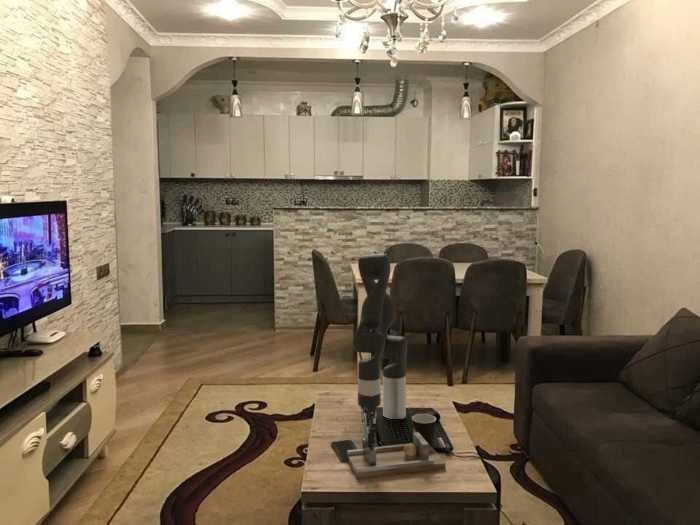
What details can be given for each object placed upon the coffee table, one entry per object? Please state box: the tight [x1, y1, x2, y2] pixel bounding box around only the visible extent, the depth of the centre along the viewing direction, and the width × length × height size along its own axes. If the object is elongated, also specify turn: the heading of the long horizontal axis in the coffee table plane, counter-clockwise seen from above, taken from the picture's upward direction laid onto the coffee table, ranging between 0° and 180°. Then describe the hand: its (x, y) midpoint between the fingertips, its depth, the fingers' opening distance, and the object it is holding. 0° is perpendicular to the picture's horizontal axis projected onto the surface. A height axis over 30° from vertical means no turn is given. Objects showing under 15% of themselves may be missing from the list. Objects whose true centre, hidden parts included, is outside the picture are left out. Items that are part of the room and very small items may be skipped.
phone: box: [330, 439, 358, 463], centre depth 211 cm, size 8×1×15 cm
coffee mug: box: [411, 413, 437, 445], centre depth 217 cm, size 12×9×10 cm
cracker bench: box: [347, 432, 446, 480], centre depth 201 cm, size 15×30×8 cm, turn 103°
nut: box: [404, 442, 417, 459], centre depth 202 cm, size 4×4×4 cm
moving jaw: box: [362, 422, 376, 466], centre depth 198 cm, size 10×3×13 cm, turn 13°
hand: (369, 440), depth 198 cm, fingers open, 4 cm apart
